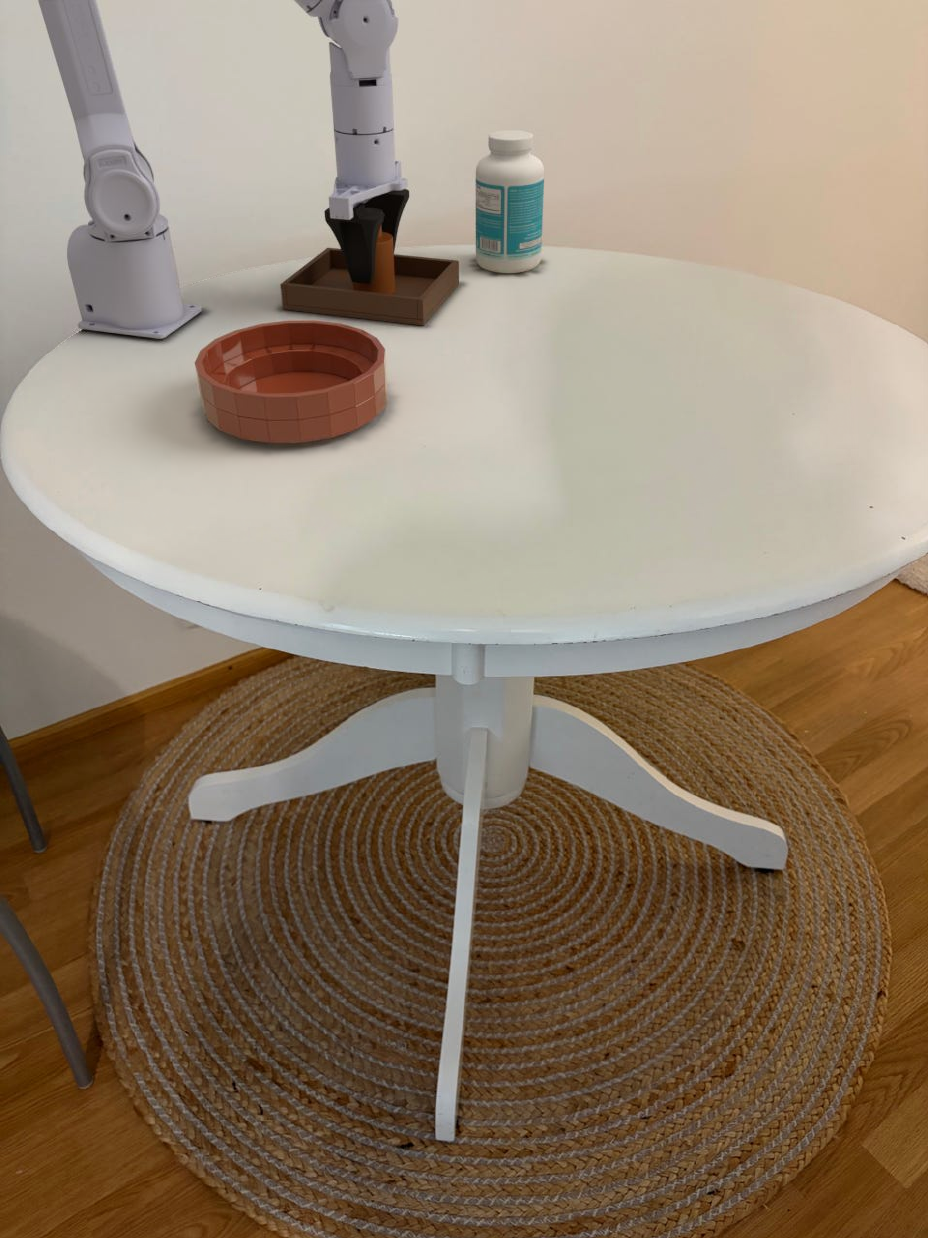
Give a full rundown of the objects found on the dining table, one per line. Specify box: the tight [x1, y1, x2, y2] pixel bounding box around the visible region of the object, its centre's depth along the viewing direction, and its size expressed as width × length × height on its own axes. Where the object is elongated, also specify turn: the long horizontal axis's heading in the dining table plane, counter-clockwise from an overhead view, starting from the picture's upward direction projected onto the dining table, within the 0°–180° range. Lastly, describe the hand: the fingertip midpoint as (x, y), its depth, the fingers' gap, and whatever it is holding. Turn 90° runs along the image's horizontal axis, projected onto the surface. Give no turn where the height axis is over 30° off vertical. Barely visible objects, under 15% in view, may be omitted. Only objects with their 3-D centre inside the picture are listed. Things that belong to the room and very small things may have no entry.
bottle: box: [353, 208, 395, 294], centre depth 98 cm, size 4×4×8 cm
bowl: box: [194, 319, 388, 444], centre depth 79 cm, size 15×15×4 cm
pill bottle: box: [475, 129, 545, 274], centre depth 104 cm, size 8×7×14 cm
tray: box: [279, 247, 460, 327], centre depth 100 cm, size 15×12×3 cm
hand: (372, 272), depth 99 cm, fingers open, 5 cm apart
